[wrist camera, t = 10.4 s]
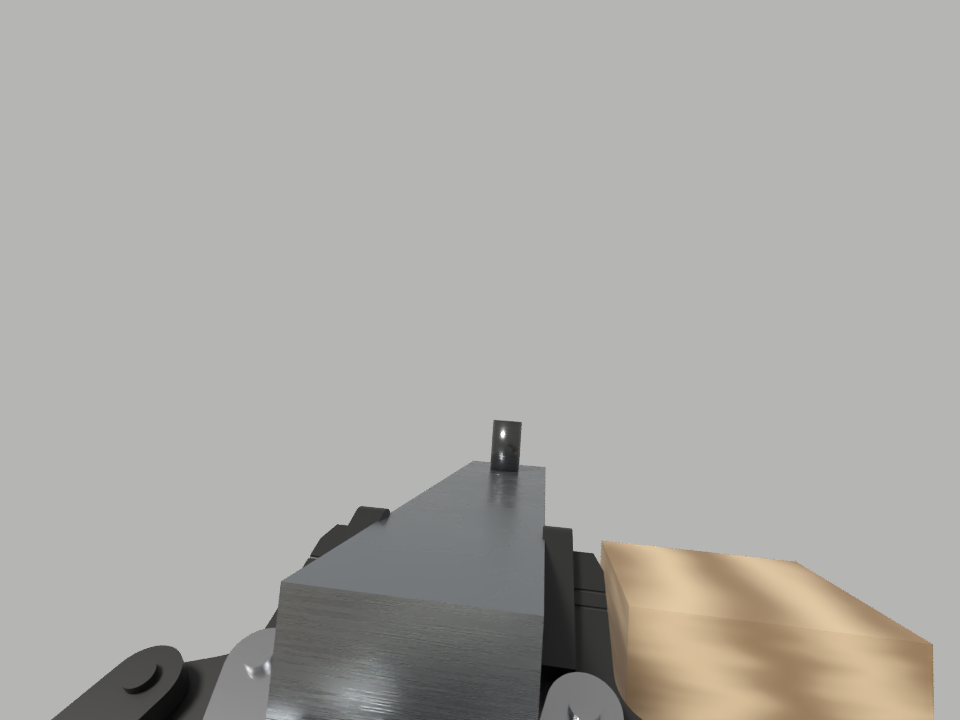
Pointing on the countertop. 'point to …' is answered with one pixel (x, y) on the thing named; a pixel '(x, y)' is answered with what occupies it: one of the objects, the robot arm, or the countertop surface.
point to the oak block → (754, 642)
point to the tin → (424, 606)
